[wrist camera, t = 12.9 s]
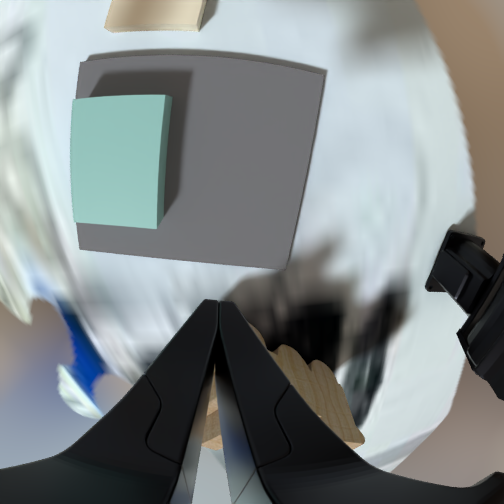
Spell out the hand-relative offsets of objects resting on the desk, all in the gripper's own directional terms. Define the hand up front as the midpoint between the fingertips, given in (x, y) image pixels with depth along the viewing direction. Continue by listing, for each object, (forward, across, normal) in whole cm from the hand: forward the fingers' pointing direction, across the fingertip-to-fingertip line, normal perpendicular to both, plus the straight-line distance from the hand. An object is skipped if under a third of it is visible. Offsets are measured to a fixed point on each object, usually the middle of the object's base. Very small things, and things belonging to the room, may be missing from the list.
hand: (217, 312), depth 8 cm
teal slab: (+10, +4, -2) cm, 11 cm away
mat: (+12, +3, -2) cm, 12 cm away
